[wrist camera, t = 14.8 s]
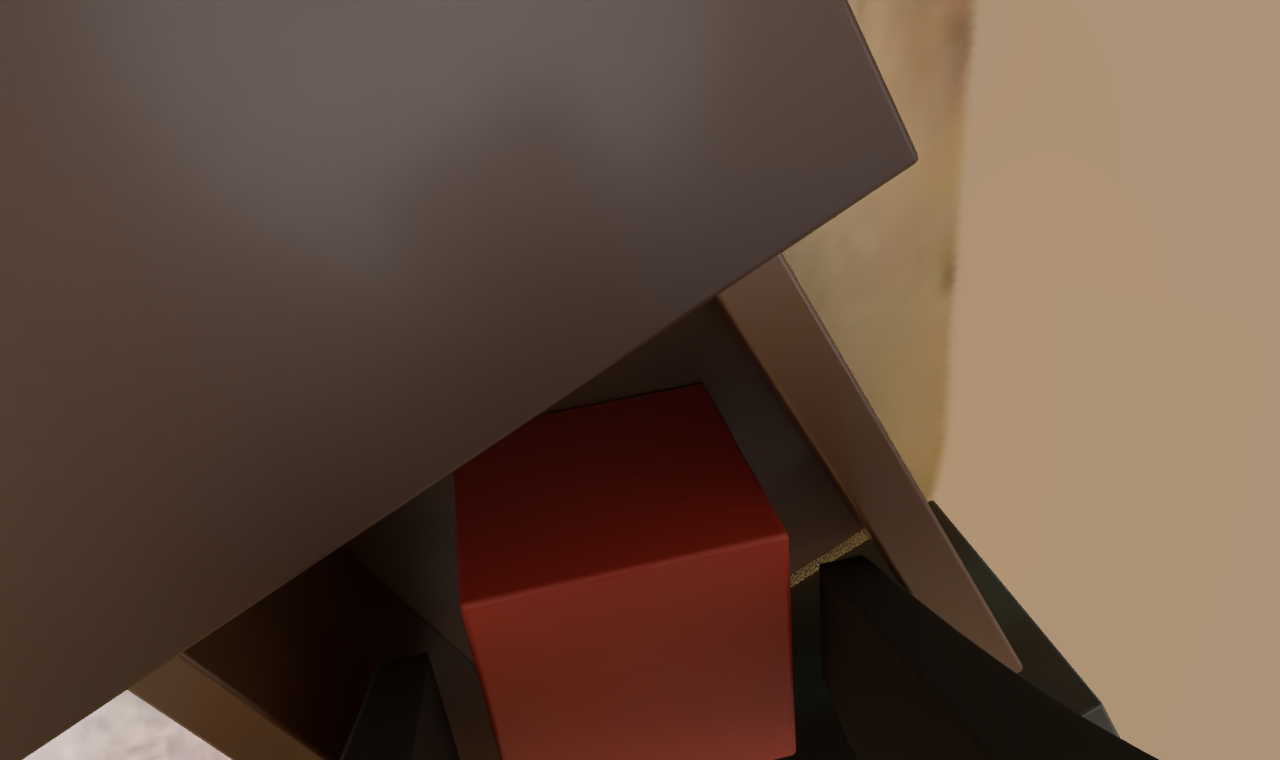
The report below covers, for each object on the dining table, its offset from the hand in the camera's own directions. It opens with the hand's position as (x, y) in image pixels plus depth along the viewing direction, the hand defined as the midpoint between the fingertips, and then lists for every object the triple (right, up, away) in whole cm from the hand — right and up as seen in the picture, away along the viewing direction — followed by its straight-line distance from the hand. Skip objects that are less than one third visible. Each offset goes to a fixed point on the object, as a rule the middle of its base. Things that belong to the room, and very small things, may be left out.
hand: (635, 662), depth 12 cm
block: (-1, +2, +3) cm, 4 cm away
